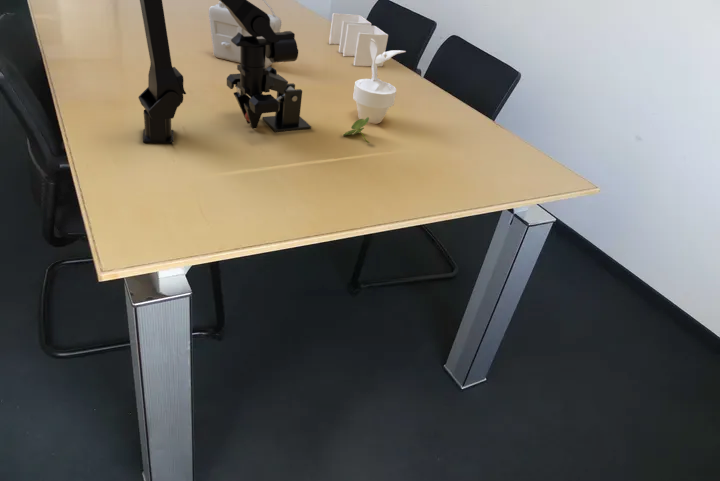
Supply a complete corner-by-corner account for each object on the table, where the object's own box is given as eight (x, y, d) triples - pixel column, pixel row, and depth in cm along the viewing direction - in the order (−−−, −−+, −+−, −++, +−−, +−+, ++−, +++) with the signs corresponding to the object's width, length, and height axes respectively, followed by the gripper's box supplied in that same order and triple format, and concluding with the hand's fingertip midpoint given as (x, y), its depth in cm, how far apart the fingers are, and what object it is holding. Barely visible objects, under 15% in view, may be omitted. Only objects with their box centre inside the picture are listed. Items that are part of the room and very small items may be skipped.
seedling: (357, 158, 147) (344, 138, 148) (383, 141, 147) (369, 121, 148) (355, 151, 140) (340, 130, 141) (382, 134, 140) (367, 112, 141)
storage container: (382, 66, 201) (388, 35, 195) (354, 65, 196) (359, 33, 190) (355, 44, 219) (359, 15, 213) (328, 43, 214) (332, 13, 208)
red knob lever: (251, 126, 138) (246, 116, 136) (246, 121, 140) (241, 111, 138) (298, 98, 141) (294, 88, 139) (293, 94, 143) (289, 84, 141)
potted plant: (355, 128, 151) (371, 32, 137) (344, 110, 160) (358, 19, 146) (399, 129, 155) (418, 37, 141) (386, 112, 164) (403, 24, 150)
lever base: (275, 134, 140) (278, 94, 134) (262, 121, 145) (264, 82, 139) (310, 130, 145) (315, 92, 139) (297, 118, 150) (300, 80, 145)
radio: (205, 57, 179) (205, -28, 165) (216, 51, 186) (217, -32, 172) (269, 72, 176) (275, -13, 163) (279, 65, 183) (285, -17, 169)
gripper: (302, 75, 129) (297, 137, 137) (268, 48, 141) (266, 107, 150) (256, 78, 123) (255, 143, 132) (225, 51, 135) (226, 112, 144)
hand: (251, 125), depth 140 cm, fingers closed on red knob lever, 3 cm apart
